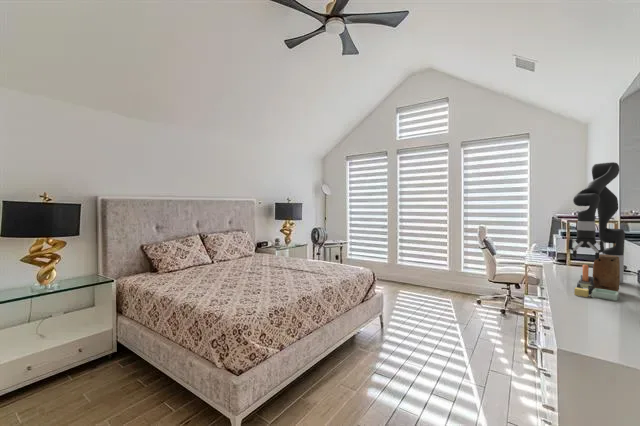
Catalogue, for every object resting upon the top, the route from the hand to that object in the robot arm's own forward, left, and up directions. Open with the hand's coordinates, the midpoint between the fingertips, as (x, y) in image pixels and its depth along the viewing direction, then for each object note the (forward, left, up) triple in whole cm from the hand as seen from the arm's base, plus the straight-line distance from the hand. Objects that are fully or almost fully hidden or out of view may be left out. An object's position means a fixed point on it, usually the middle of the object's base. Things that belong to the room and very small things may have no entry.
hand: (585, 258), depth 156 cm
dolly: (-1, 0, -19) cm, 19 cm away
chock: (+10, 0, -19) cm, 21 cm away
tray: (+5, +9, -19) cm, 21 cm away
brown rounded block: (-11, +7, -19) cm, 23 cm away
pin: (0, 0, -14) cm, 14 cm away
